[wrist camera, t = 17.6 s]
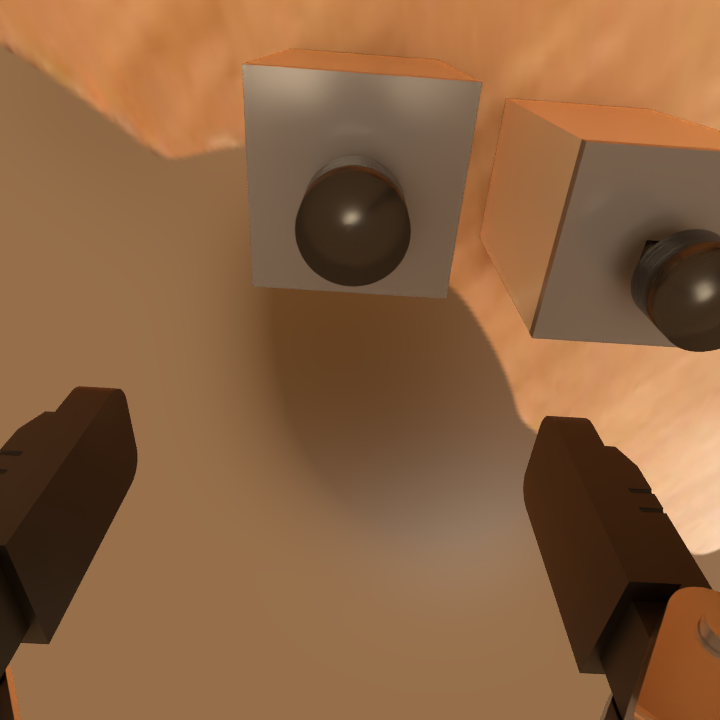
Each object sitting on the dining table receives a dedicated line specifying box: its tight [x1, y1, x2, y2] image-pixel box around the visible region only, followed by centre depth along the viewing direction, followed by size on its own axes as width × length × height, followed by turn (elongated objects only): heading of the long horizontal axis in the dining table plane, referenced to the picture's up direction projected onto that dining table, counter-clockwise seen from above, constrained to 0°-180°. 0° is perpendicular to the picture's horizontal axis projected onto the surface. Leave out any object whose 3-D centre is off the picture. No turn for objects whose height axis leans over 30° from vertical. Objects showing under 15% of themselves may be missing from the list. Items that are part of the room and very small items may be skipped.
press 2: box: [480, 98, 720, 347], centre depth 33 cm, size 10×10×16 cm
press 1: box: [242, 49, 482, 299], centre depth 32 cm, size 10×10×16 cm
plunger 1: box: [295, 156, 411, 287], centre depth 28 cm, size 8×8×19 cm
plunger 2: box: [631, 229, 720, 352], centre depth 30 cm, size 8×8×19 cm
